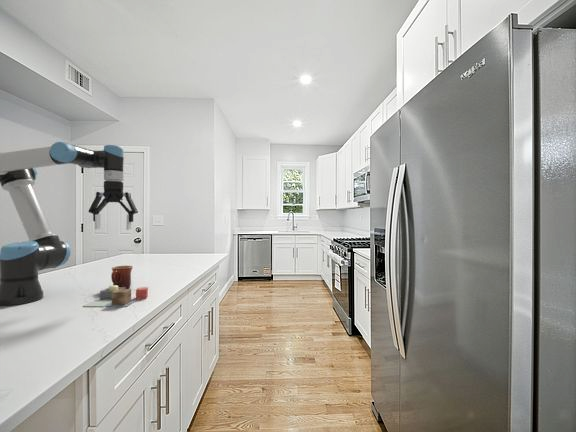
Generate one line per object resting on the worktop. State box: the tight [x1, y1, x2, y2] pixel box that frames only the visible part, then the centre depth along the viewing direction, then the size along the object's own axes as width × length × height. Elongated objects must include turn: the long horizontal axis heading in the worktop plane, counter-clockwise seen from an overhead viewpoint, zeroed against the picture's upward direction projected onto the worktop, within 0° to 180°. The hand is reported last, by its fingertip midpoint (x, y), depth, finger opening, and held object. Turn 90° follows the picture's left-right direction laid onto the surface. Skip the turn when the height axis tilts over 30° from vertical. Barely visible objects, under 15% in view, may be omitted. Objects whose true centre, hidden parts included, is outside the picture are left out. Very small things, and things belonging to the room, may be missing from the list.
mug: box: [110, 265, 133, 289], centre depth 142 cm, size 12×9×10 cm
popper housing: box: [99, 287, 126, 300], centre depth 129 cm, size 7×7×4 cm
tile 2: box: [105, 299, 137, 308], centre depth 120 cm, size 8×8×1 cm
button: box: [108, 284, 118, 291], centre depth 129 cm, size 4×4×4 cm
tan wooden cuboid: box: [112, 288, 132, 305], centre depth 120 cm, size 5×5×5 cm
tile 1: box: [82, 299, 112, 308], centre depth 120 cm, size 8×8×1 cm
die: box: [135, 286, 149, 300], centre depth 129 cm, size 4×4×4 cm
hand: (113, 229), depth 133 cm, fingers open, 13 cm apart
